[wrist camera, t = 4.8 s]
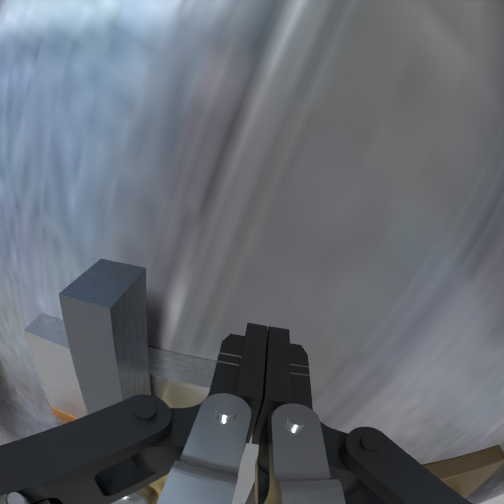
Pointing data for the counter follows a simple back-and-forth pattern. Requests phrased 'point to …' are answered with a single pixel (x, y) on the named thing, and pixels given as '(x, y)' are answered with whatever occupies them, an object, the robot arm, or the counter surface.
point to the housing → (161, 382)
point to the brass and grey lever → (110, 342)
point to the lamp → (467, 469)
